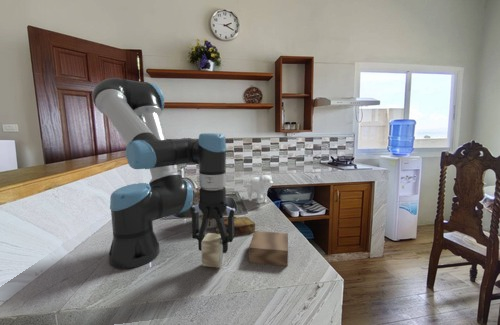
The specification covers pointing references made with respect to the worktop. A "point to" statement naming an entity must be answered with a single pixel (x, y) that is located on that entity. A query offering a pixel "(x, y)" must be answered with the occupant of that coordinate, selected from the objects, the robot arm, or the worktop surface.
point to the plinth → (269, 248)
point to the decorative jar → (196, 201)
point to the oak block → (211, 250)
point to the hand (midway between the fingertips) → (213, 260)
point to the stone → (240, 225)
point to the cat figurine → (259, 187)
